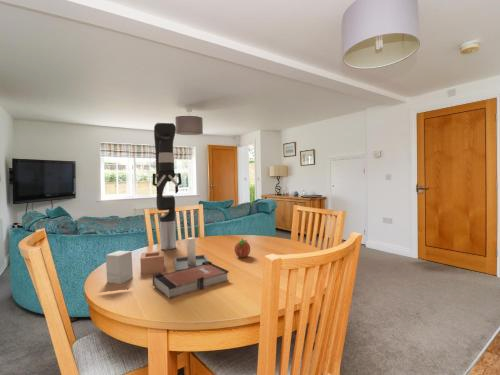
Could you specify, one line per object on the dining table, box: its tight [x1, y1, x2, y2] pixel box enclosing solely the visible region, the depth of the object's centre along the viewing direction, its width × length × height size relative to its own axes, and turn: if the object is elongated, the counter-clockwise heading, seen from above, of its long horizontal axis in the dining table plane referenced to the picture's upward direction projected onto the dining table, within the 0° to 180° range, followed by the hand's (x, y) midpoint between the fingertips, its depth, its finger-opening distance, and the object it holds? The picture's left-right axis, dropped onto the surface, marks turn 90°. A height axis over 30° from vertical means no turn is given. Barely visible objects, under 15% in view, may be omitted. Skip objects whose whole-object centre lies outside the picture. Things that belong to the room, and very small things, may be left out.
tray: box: [173, 254, 209, 271], centre depth 135 cm, size 20×16×2 cm
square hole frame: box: [139, 250, 165, 275], centre depth 129 cm, size 10×10×8 cm
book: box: [152, 260, 230, 300], centre depth 113 cm, size 26×18×5 cm
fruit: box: [234, 238, 251, 259], centre depth 149 cm, size 9×10×10 cm
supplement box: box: [105, 250, 134, 285], centre depth 116 cm, size 7×7×13 cm
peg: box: [186, 237, 197, 266], centre depth 134 cm, size 4×4×13 cm
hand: (167, 193), depth 141 cm, fingers open, 8 cm apart
